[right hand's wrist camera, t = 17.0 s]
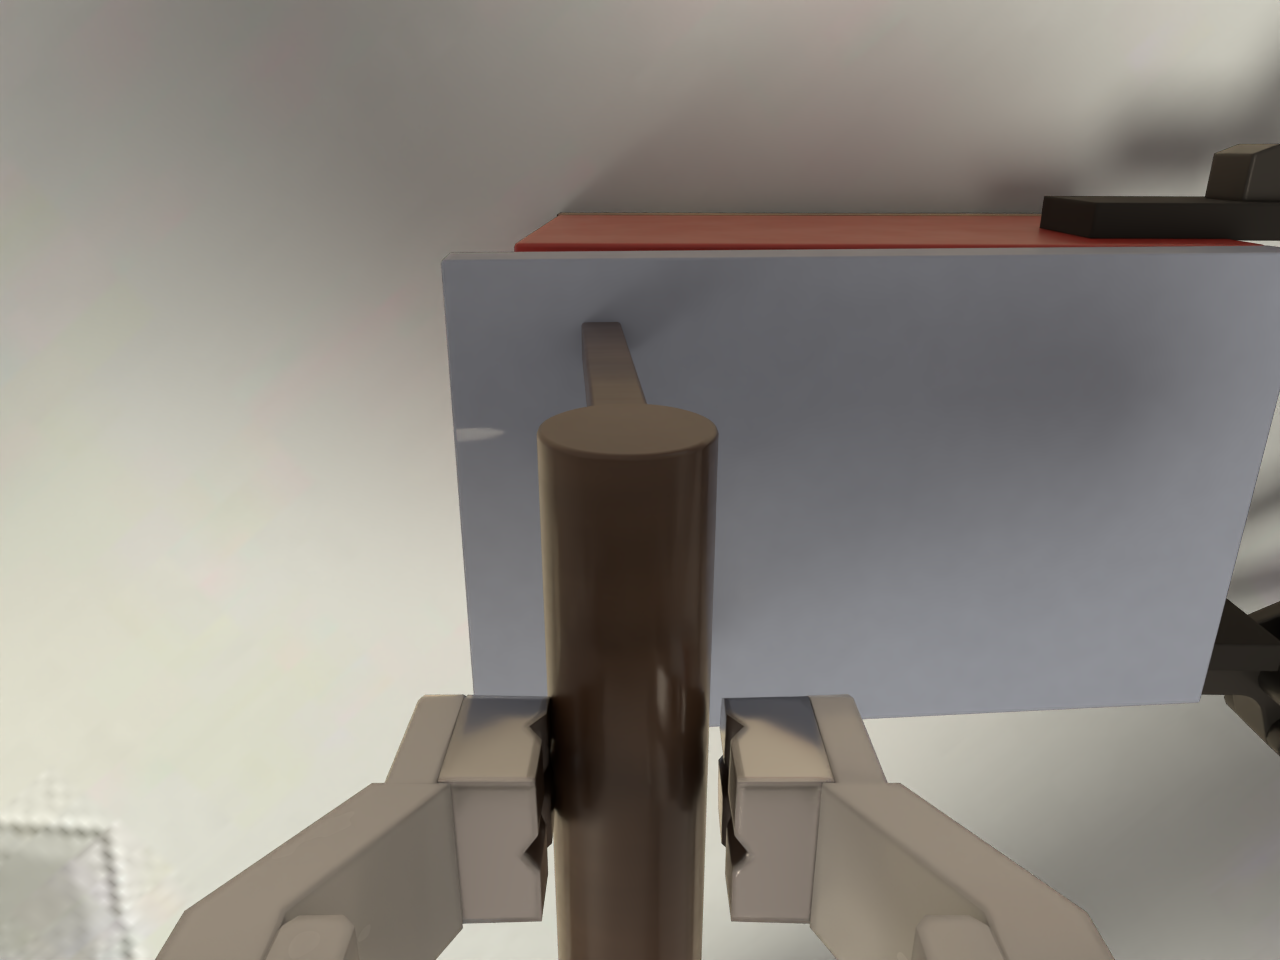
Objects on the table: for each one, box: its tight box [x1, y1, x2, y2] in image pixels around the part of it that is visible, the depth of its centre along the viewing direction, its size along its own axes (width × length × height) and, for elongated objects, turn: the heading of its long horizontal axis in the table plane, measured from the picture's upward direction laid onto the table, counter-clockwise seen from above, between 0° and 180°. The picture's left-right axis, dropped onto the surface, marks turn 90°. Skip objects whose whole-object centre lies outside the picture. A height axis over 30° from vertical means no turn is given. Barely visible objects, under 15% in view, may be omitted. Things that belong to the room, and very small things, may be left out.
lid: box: [441, 246, 1280, 960], centre depth 14 cm, size 16×10×9 cm, turn 90°
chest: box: [514, 213, 1264, 252], centre depth 24 cm, size 15×10×9 cm, turn 90°
